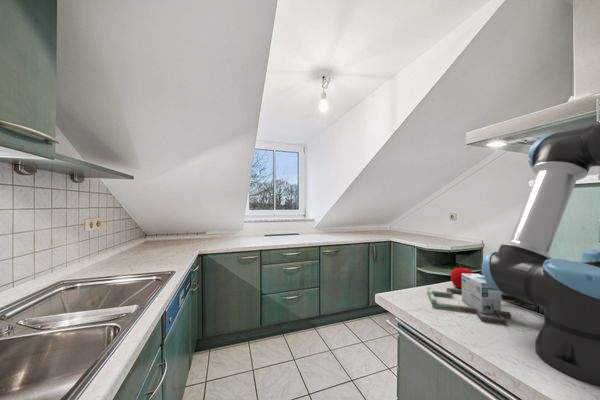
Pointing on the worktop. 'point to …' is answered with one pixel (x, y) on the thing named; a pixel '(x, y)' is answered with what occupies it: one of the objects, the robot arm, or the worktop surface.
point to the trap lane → (465, 307)
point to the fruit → (459, 276)
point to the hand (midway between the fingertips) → (481, 287)
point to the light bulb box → (478, 294)
